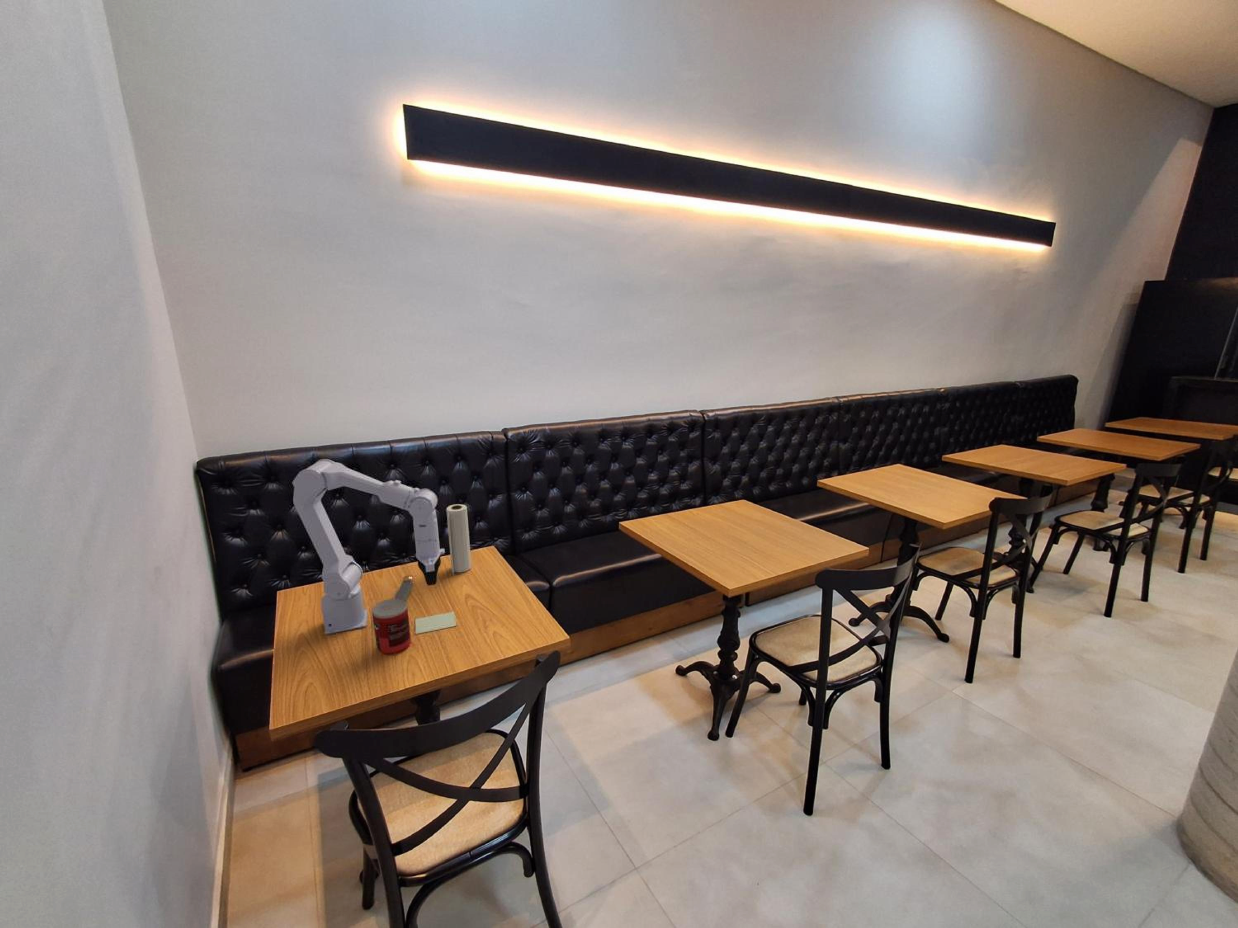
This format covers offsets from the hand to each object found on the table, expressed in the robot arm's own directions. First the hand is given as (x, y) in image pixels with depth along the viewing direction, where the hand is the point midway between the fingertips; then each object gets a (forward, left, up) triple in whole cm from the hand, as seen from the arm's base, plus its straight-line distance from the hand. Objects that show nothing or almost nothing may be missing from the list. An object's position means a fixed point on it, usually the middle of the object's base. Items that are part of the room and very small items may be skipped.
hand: (431, 583), depth 134 cm
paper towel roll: (+9, +26, -11) cm, 29 cm away
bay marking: (0, -3, -10) cm, 11 cm away
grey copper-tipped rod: (-8, +10, -9) cm, 16 cm away
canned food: (-10, -9, -11) cm, 17 cm away
